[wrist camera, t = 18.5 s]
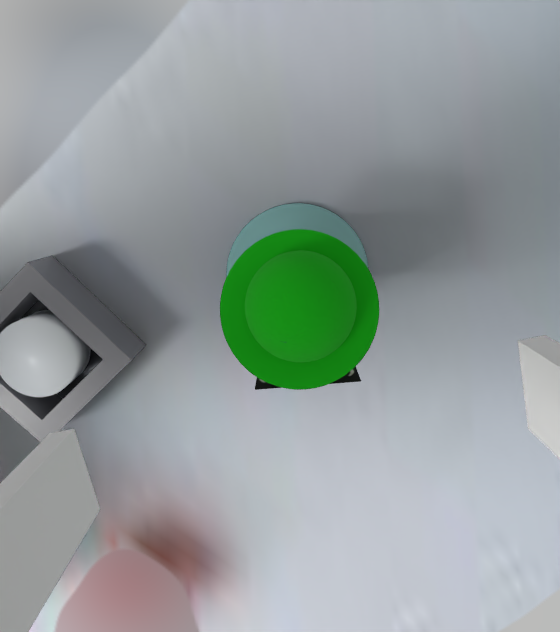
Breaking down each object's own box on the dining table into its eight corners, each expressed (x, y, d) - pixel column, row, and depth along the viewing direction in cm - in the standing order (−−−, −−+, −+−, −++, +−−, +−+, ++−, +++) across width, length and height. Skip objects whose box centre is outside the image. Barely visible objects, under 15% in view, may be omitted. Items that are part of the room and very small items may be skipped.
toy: (245, 335, 42) (221, 411, 27) (233, 225, 40) (200, 243, 25) (357, 325, 42) (393, 397, 27) (350, 214, 40) (386, 227, 25)
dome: (56, 397, 43) (39, 412, 40) (-1, 346, 42) (-23, 357, 39) (106, 348, 42) (92, 360, 39) (48, 294, 41) (29, 302, 38)
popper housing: (65, 423, 44) (44, 445, 40) (-28, 340, 43) (-59, 355, 39) (146, 344, 43) (131, 360, 39) (52, 255, 41) (27, 262, 37)
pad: (244, 354, 43) (243, 356, 42) (212, 219, 40) (211, 220, 40) (378, 328, 42) (379, 329, 42) (354, 189, 40) (354, 189, 39)
